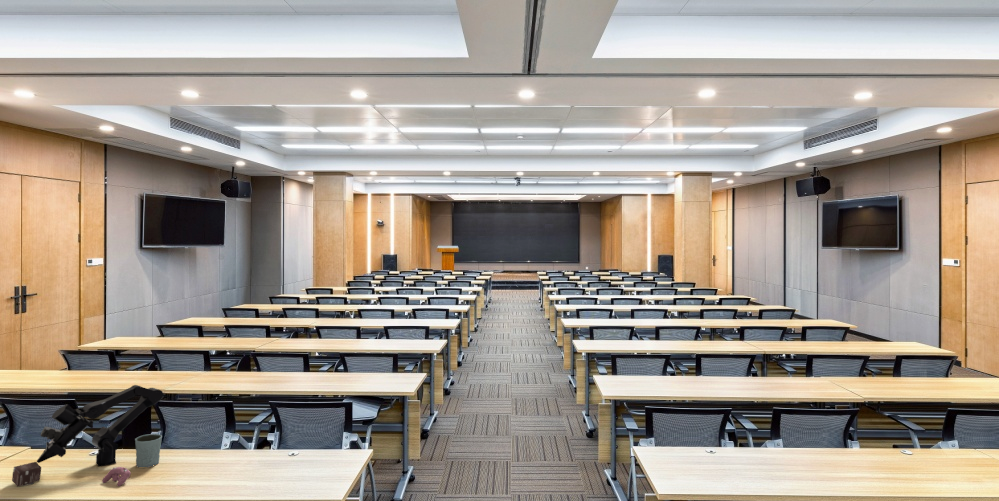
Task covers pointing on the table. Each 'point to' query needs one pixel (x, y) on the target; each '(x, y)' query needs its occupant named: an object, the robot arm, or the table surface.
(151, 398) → the robot arm
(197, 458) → the table surface
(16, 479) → the box
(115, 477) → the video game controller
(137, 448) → the grey cup
